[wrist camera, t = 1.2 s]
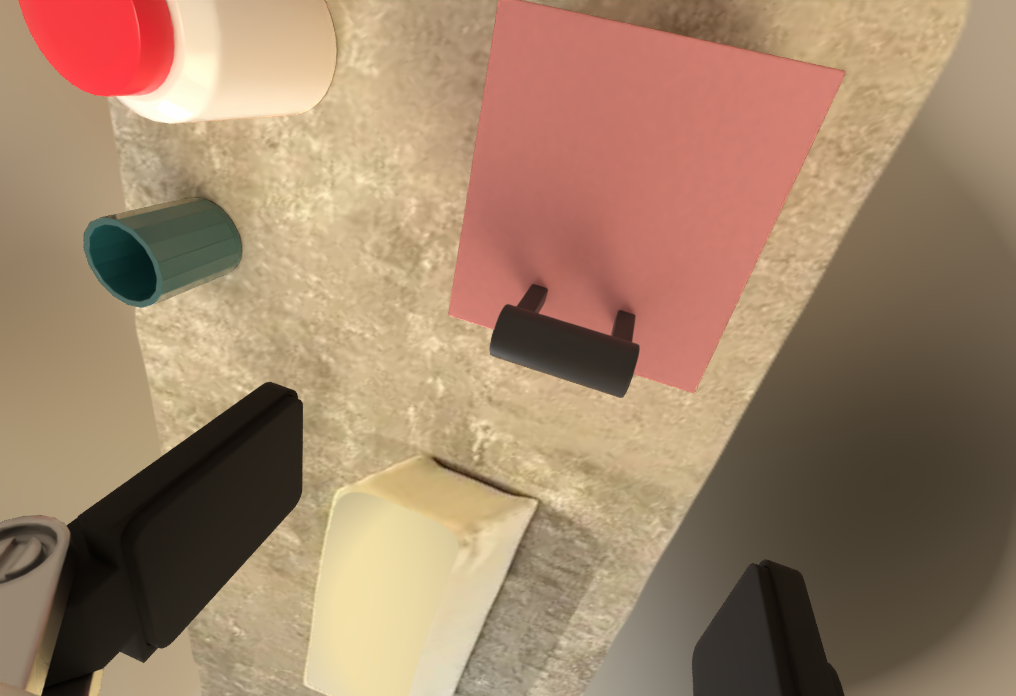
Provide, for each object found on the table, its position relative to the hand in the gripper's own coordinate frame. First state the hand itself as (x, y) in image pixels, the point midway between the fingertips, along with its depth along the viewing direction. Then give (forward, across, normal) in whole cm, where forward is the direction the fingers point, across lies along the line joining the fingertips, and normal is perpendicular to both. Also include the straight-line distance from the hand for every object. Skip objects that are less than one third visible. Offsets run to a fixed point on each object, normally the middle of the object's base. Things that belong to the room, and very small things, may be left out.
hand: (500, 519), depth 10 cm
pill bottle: (+21, +21, -6) cm, 30 cm away
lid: (+12, 0, -4) cm, 13 cm away
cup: (+21, +26, +7) cm, 34 cm away
